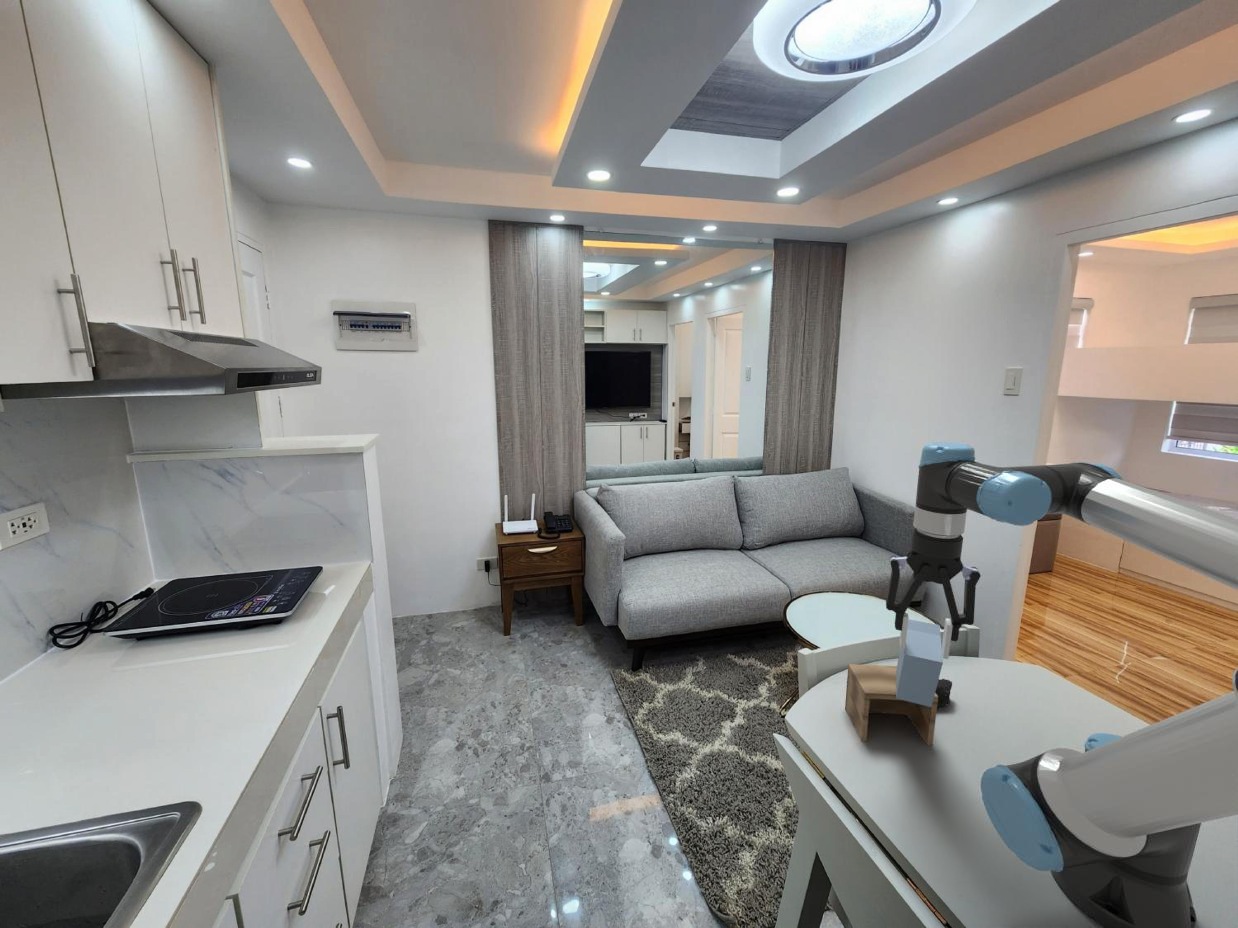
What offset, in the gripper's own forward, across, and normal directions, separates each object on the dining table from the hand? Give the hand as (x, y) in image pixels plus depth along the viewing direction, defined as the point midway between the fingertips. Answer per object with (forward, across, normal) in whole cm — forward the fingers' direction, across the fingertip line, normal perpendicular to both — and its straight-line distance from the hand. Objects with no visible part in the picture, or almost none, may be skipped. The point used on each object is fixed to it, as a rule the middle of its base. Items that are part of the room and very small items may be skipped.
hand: (923, 649), depth 91 cm
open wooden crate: (+25, +4, -10) cm, 28 cm away
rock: (+26, -4, -23) cm, 35 cm away
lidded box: (+7, 0, -1) cm, 7 cm away
